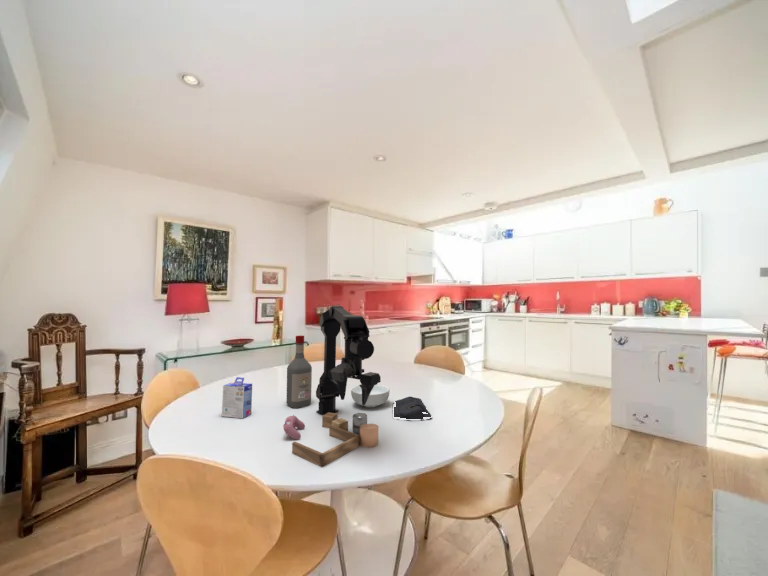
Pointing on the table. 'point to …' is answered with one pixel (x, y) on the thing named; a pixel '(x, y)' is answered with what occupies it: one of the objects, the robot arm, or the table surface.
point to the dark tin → (358, 422)
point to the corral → (333, 453)
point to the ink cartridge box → (237, 399)
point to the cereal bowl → (371, 395)
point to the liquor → (299, 378)
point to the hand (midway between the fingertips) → (353, 402)
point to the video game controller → (293, 427)
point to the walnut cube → (328, 419)
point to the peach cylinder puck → (369, 435)
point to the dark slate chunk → (410, 408)
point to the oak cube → (340, 423)
